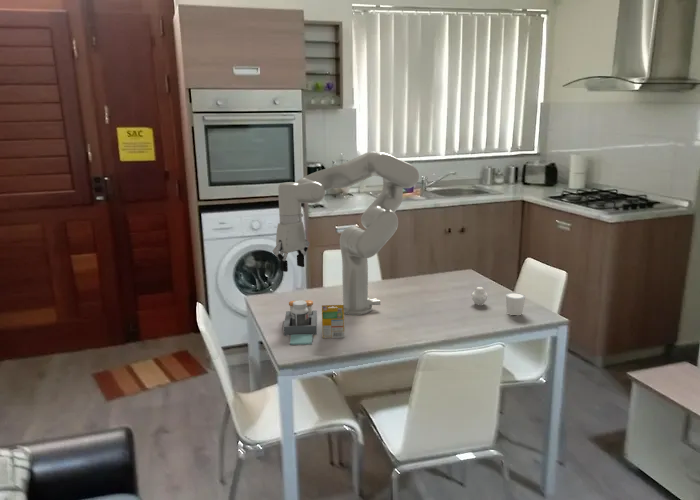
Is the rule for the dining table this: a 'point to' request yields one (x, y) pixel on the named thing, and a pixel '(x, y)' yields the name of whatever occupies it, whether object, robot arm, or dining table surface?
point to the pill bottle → (300, 313)
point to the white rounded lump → (479, 296)
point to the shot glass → (515, 303)
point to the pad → (301, 339)
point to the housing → (300, 329)
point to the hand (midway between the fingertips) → (292, 268)
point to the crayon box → (333, 321)
